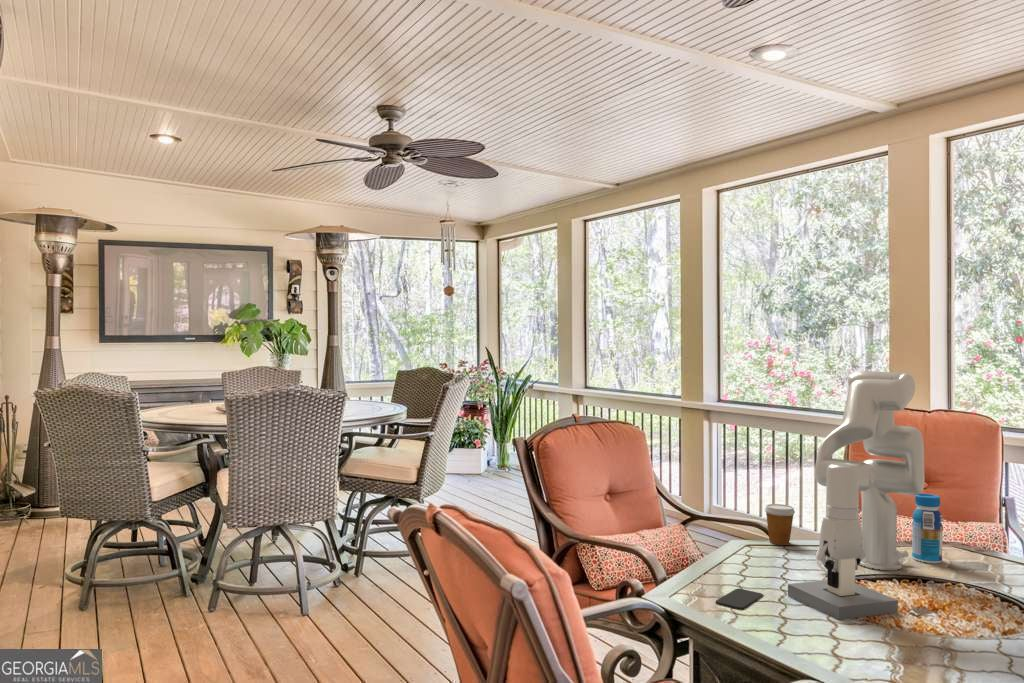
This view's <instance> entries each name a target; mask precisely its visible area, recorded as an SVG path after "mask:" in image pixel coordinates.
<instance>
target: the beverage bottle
mask: <svg viewBox="0 0 1024 683" xmlns="http://www.w3.org/2000/svg"><path fill="white" fill-rule="evenodd" d="M914 498H915V499H914V500H915V501H914V502H915V506H917V507H916V508H915V509H914V511H913V512H912V519H913V520H912V522H911V527H912V531H911V532H912V534H911V535H912V538H911V539H912V543H911V544H912V545H911V547H912V548H911V552H912V553H911V556H912V559H913V560H914V561H917V560H918V561H917V562H920V561H921V563H924V562H927V564H940V563H942V561H943V532H944V525H943V523H942V522H943V520H944V518H943V515H942V513H941V511H940V510H939V508H941V497H940V495H936V494H932V493H931V494H930V493H920V494H918V495H914Z"/></svg>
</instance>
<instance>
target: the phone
mask: <svg viewBox="0 0 1024 683" xmlns="http://www.w3.org/2000/svg"><path fill="white" fill-rule="evenodd" d="M763 597H764V594H763V593H761V592H757V591H753V590H749V589H744V588H735V589H734V590H732V591H730V592H728V593H726V594H725V595H723V596H721V597H719V598H718V599H716V600H715V604H716V605H718V606H723V607H727V608H731V609H733V610H734V609H735V610H739V611H743V610H746V609H747V608H748V607H750V606H751V605H753V604H754V603H755V602H757V601H758V600H760V599H761V598H763Z"/></svg>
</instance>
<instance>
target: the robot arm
mask: <svg viewBox="0 0 1024 683" xmlns="http://www.w3.org/2000/svg"><path fill="white" fill-rule="evenodd" d="M847 385H848V389H847V395H846V400H845V406H844V412H843V415H842V422H841V424H840V425H839V426H838V427H836V428H835V429H833V430H832V431H831V432H830V433H829V434H828V435H827V436H826V437H825V438H824V439H823V440H822V442H821V443H820V445H819V448H818V452H817V456H816V461H815V464H814V477H815V480H816V482H817V483H818V485H819V486H822V487H826V490H825V492H826V495H825V496H826V498H825V499H826V500H825V504H826V505H825V517H823V518H822V522H821V527H820V532H819V543H818V544H819V545H818V550H819V555H818V557H817V559H818V560H819V561H820V563H822V566H823V567H824V568H826V569H827V570H828V573H827V579H826V580H827V584H828V585H829V586H832V587H834V588H838V576H839V572H836V571H837V567H838V560H840V559H850V558H855V571H857V570H858V568H859V567H858V566H861V565H862V566H861V567H864V566H865V567H864V568H868V569H872V568H874V569H873V570H878V569H880V571H898V569H899V570H901V569H903V563H902V562H901V561H900V559H903V558H908V557H909V552H908V551H907V550H902V551H900V550H898V549H897V538H898V537H897V536H898V535H897V534H898V530H897V526H898V525H897V524H898V522H897V520H898V519H897V516H898V509H897V506H896V503H895V501H894V500H893V498H892V497H891V495H889V493H890V494H899V495H906V496H907V495H908V496H909V495H910V496H916V495H918V494H922V493H923V490H924V487H925V483H926V482H925V445H924V438H923V434H922V432H921V431H920V430H919V429H918V428H917V427H914V426H907V425H897V424H895V412H898V411H902V410H904V409H905V408H906V407H907V406H908V405H909V404H910V402H911V401H912V400H913V398H914V395H915V391H916V382H915V380H914V377H913V376H912V374H910V373H907V372H897V371H896V372H894V371H871V370H870V371H869V370H868V371H865V370H864V371H863V370H862V371H861V370H860V371H855V372H852V373H850V374H849V376H848V378H847ZM859 442H862V443H863V449H864V450H865V451H864V452H866V453H867V454H869V455H872V456H875V457H883V458H884V457H885V458H893V459H894V458H895V459H903V461H900V460H891V459H889V460H888V459H883V458H882V459H880V458H869V459H865V460H863V461H859V460H857V461H856V460H849V459H837V458H832V457H833V455H834V454H835V452H837V451H838V450H840V449H841V448H844V447H846V446H849V445H852V444H856V443H859ZM859 493H861V509H860V507H859V505H860V504H859V503H860V502H859V500H860V499H859V497H860V494H859ZM860 513H861V521H860V519H859V514H860ZM826 556H827V559H826ZM832 561H833V564H831V562H832Z"/></svg>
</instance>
